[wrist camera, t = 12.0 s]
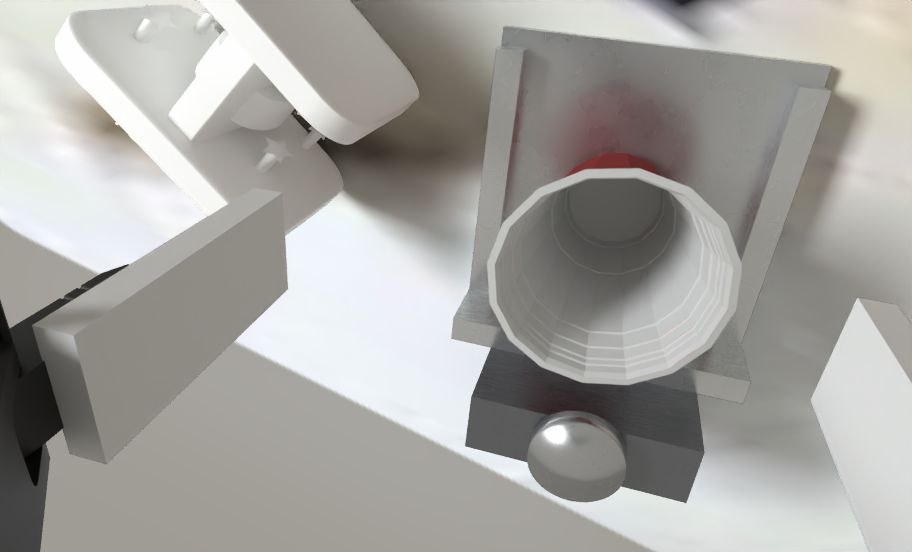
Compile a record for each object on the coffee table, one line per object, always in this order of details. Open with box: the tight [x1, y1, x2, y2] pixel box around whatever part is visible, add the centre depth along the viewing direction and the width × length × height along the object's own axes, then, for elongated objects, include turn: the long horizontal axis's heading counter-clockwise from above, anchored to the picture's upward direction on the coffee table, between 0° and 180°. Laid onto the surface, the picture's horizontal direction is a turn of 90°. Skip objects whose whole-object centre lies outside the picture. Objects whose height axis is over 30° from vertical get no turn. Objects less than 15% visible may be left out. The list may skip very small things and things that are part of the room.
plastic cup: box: [487, 153, 742, 385], centre depth 32 cm, size 11×11×12 cm
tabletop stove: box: [451, 26, 832, 503], centre depth 33 cm, size 22×17×12 cm
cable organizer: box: [55, 0, 419, 236], centre depth 34 cm, size 15×11×12 cm
